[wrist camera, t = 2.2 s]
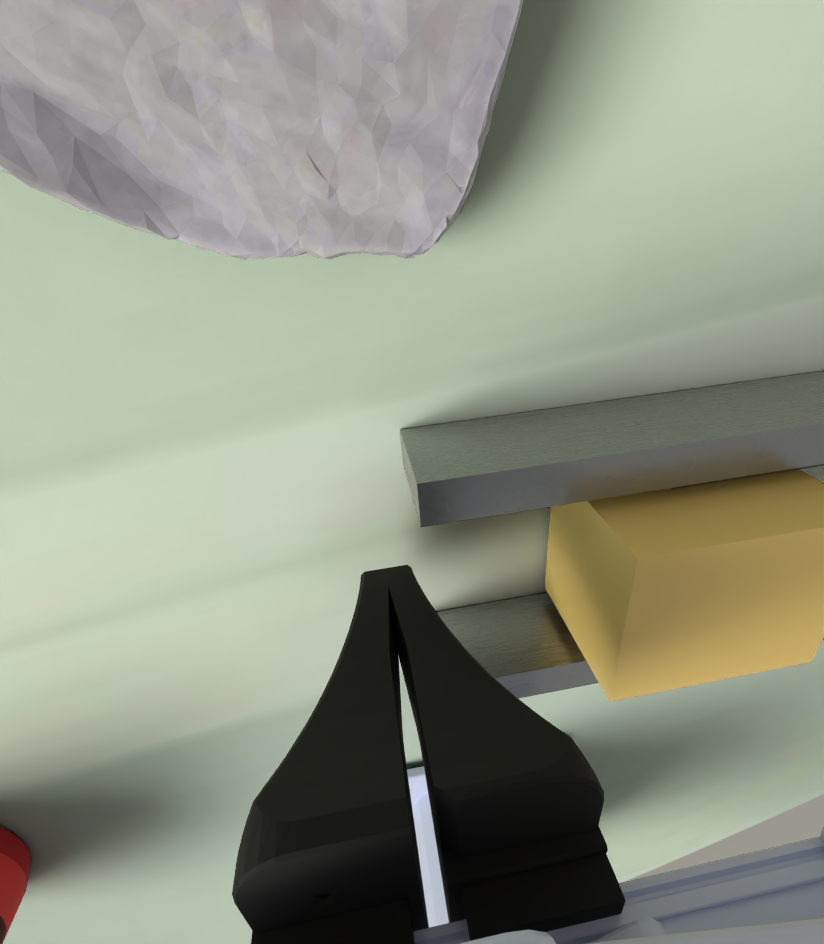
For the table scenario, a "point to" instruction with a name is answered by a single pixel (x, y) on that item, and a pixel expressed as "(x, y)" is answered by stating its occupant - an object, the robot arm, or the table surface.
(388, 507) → the table surface
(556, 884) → the robot arm
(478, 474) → the chute
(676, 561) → the block
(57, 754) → the table surface
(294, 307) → the table surface
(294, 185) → the stone block
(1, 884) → the canned food
